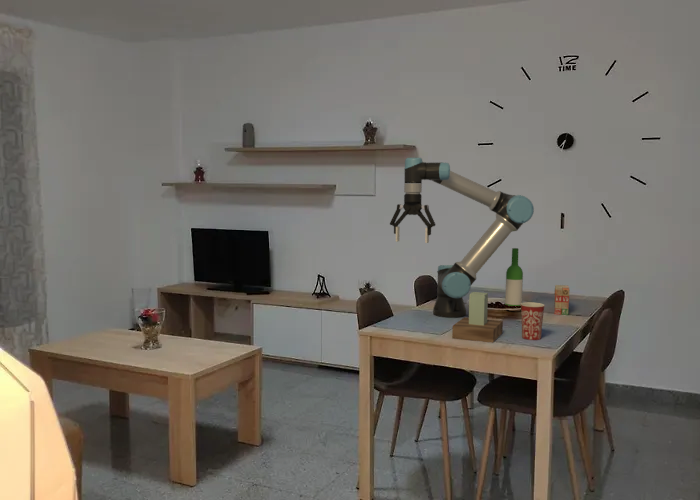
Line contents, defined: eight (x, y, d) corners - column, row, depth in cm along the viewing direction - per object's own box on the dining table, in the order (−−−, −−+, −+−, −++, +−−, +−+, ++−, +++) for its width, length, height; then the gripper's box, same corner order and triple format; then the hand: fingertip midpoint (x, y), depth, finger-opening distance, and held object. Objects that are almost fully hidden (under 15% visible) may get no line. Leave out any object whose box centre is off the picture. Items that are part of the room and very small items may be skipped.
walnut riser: (463, 329, 273) (464, 317, 273) (502, 333, 267) (502, 320, 266) (452, 338, 257) (452, 325, 256) (493, 342, 250) (493, 329, 250)
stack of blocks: (554, 306, 327) (554, 281, 325) (567, 307, 325) (568, 282, 324) (554, 314, 306) (555, 288, 305) (568, 315, 304) (569, 289, 303)
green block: (472, 321, 265) (473, 291, 264) (487, 322, 263) (487, 292, 262) (468, 324, 260) (469, 294, 259) (483, 325, 258) (484, 295, 256)
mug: (542, 341, 253) (543, 307, 251) (518, 339, 256) (519, 305, 254) (544, 334, 264) (546, 301, 263) (521, 332, 268) (522, 300, 266)
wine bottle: (501, 310, 314) (503, 248, 311) (511, 308, 319) (513, 247, 316) (515, 313, 308) (517, 249, 305) (524, 311, 313) (527, 248, 310)
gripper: (443, 193, 284) (442, 242, 286) (389, 193, 294) (388, 240, 296) (438, 193, 277) (437, 243, 279) (383, 193, 287) (382, 241, 289)
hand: (412, 242), depth 288 cm, fingers open, 13 cm apart
